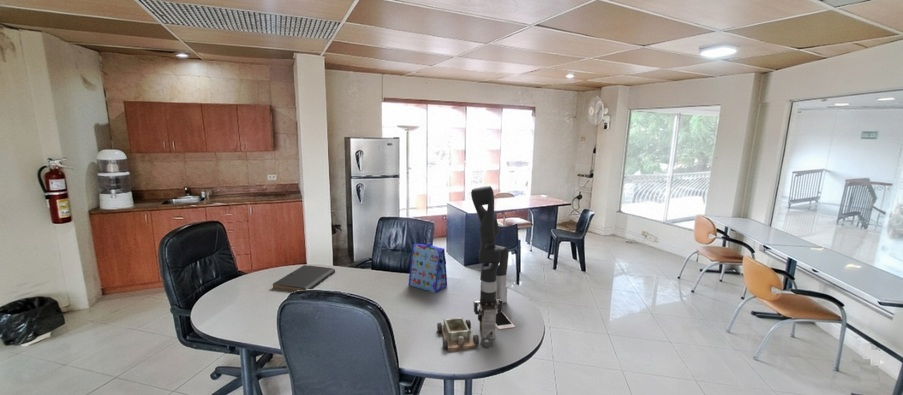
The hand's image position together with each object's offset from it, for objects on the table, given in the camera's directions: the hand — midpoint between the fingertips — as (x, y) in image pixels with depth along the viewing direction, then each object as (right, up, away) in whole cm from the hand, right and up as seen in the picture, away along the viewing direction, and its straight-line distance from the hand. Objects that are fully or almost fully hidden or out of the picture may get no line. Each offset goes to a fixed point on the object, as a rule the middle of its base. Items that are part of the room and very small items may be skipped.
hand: (487, 320), depth 179 cm
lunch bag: (-33, +3, +56) cm, 65 cm away
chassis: (-15, -8, -2) cm, 17 cm away
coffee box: (0, -7, +1) cm, 8 cm away
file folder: (-113, +5, +62) cm, 129 cm away
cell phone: (+8, -5, +15) cm, 18 cm away
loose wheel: (-1, -9, -7) cm, 12 cm away
